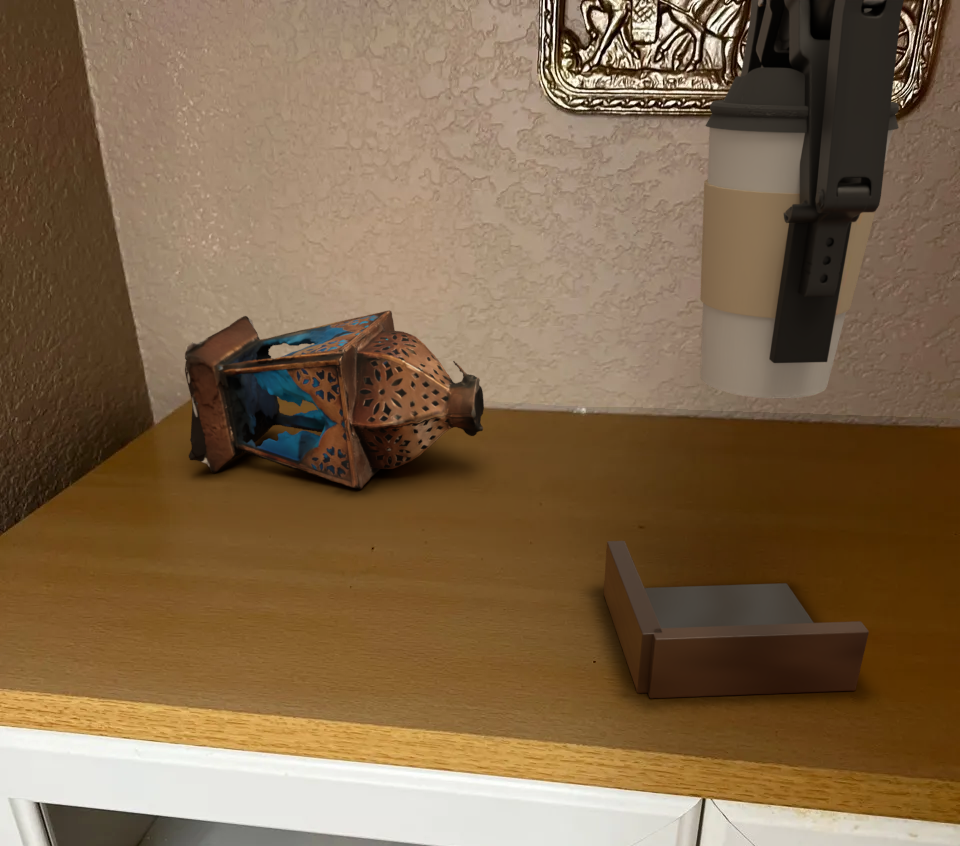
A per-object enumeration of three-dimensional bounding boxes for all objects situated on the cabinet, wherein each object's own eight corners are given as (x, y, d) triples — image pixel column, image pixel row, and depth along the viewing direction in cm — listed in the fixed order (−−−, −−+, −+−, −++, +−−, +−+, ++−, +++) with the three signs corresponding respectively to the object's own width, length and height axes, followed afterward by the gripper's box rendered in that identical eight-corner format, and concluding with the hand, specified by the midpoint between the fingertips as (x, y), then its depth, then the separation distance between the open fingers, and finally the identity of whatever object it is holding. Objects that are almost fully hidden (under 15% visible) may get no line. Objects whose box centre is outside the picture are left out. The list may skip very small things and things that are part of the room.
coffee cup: (738, 349, 60) (775, 64, 52) (879, 379, 54) (943, 65, 46) (647, 380, 54) (673, 67, 47) (793, 417, 49) (850, 68, 41)
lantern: (233, 520, 93) (488, 532, 87) (143, 431, 78) (444, 439, 72) (269, 372, 98) (514, 374, 92) (191, 261, 83) (477, 255, 77)
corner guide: (785, 588, 67) (794, 535, 65) (856, 691, 56) (869, 631, 54) (603, 594, 67) (606, 540, 65) (639, 699, 56) (644, 639, 54)
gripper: (699, -160, 50) (660, 296, 62) (857, -279, 32) (759, 398, 44) (842, -160, 51) (776, 294, 62) (1080, -278, 32) (924, 395, 44)
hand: (769, 337), depth 53 cm, fingers closed on coffee cup, 9 cm apart
